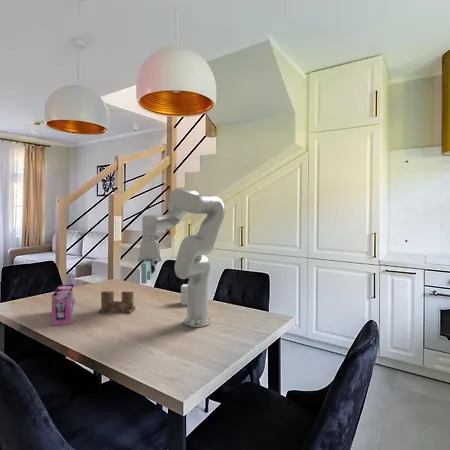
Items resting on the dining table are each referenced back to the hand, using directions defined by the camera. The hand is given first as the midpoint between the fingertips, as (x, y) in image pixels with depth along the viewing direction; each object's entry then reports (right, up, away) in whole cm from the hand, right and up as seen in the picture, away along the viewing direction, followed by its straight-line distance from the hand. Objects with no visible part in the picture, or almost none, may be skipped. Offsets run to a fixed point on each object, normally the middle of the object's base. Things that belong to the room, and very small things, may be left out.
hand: (149, 272), depth 173 cm
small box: (+20, -19, +9) cm, 29 cm away
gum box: (-38, -20, -16) cm, 46 cm away
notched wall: (-15, -19, -6) cm, 25 cm away
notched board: (0, -3, -1) cm, 3 cm away
